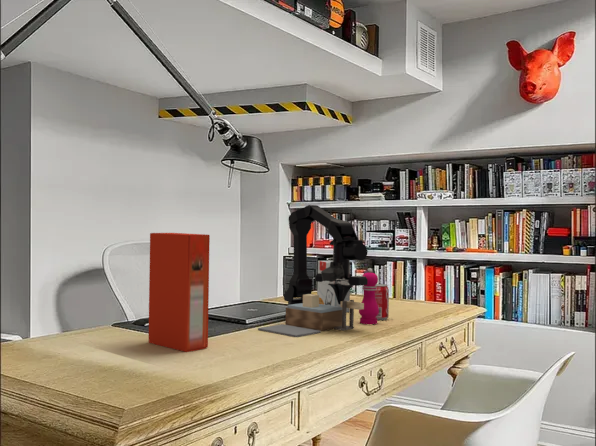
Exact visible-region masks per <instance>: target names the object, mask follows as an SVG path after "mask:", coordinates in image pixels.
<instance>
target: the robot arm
mask: <svg viewBox="0 0 596 446" xmlns="http://www.w3.org/2000/svg"><path fill="white" fill-rule="evenodd" d="M315 221H316V222H317V223H319V224H320V225H321V226H323V227H324V228H326V230H327V233H328V234H329V235H330V237H331V238H333V239H332V240H331V241H330V242H329V245H330V246H333V247H332V249H333V250H332V252H333V253H332V261H333V262H331V263H330V267H328V268H326V269H324V270H323V271H321V273H318V272H317V273H316V274H315V276H314V277H315V278H314V279H315V280H314V282H316V283H318V282H322V281H329V284H328V285H330V286H331V287H332V288H333V289H334V292H335V295H336V298H337V301H338V304H341V301H344V299H345V297H346V295H347V293H348V291H349V290H350V291H351V288H352V287H354V286H358V287H359V286H364V285H367V283H368V280H367V278H366V277H365V276H363V275H353V274H352V273H350V274H349V268H350V265H351V266H352V265H353V264H352V262H353V261H359V262H360V261H364V260H365V259H366V258H367V255H368V251H369V250H368V249H367V248H368V247H367V246H366V245H365V244H364V240H363V239H359V237H358V235H357V233H356V230H355V228H354V225H353V224H352V223H351V222H348V221H347V220H341V219H339V218H336V217H334V216H333V215H331V214H330V213H329V212H327V211H325V210H324V209H322V208H321V206H320V205H316V204H315V205H314V204H308V205H306V206H304V207H303V208H300V209H297V210H295V211H292V212H291V213H290V215H289V216H288V225H289V227H288V228H289V229H290V232H291V233H292V235H293V274H292V275H291V278H290V279H289V283H288V288H287V290H286V291H285V293H284V294H283V300H284V301H285V302H287V305H292V304H300V303H303V295H306V294H313V293H312V292H313V291H312V290H314V289H313V288H314V287H313V278H310V277H309V276H308V255H307V254H308V243H307V242H308V239H307V238H308V237H307V236H308V234H309V232H310V231H311V229H312V223H314V222H315ZM350 260H352V261H350ZM284 318H286V314H285V315H284Z"/></svg>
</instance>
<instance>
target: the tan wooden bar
mask: <svg viewBox="0 0 596 446" xmlns="http://www.w3.org/2000/svg"><path fill="white" fill-rule="evenodd" d="M340 307H342V301H341V305H340ZM346 308H349V310H350V309H354V310H358V311H359V310H361V309H364V303H361V302H357V301H354V302H351V301H347V306H346Z"/></svg>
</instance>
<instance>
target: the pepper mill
mask: <svg viewBox="0 0 596 446" xmlns="http://www.w3.org/2000/svg"><path fill="white" fill-rule="evenodd" d="M362 276H365V277H366V278H367V280H368V283H367V285H362V290H363V297H362V301H361V302H360V303H364V309H361V310H358V314H359V315H360V316H361V317H360V318H359V324H361V323H362V325H367V324H374V325H377V324H378V320H377V318H376V316H377V315H378V314H379V308H378V305H377V302H376V299H375V290H376V284H379V283H378V282H379V277H378V275H377V274H376V273H374V272H373V269H372V268H371V267H369V268H367V272H365V273H363V274H362Z"/></svg>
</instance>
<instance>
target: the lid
mask: <svg viewBox="0 0 596 446" xmlns="http://www.w3.org/2000/svg"><path fill="white" fill-rule="evenodd" d="M286 308H291V309H298V310H304V311H311V312H318V313H325V312H331V311H338V310H342V307H338V306H331V305H324V304H319V295H317V294H313V293H311V294H306V295H303V303H300V304H292V305H288V304H287V307H286Z"/></svg>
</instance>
